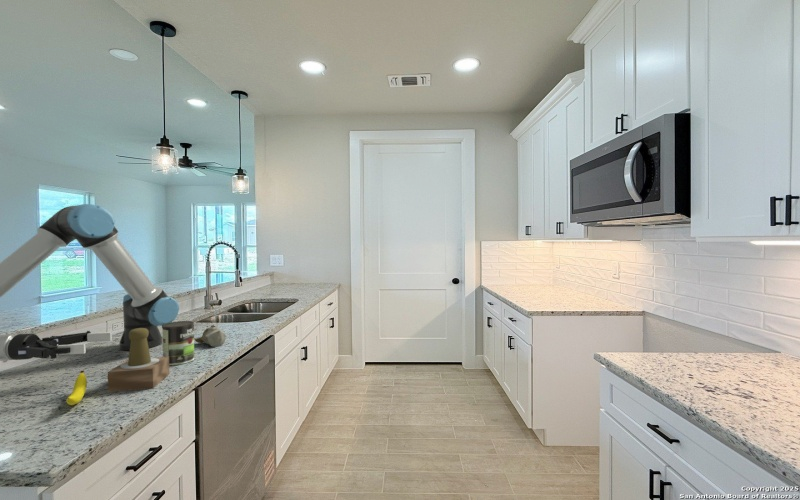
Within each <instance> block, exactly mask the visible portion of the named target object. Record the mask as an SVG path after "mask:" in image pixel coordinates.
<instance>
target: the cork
mask: <svg viewBox="0 0 800 500" xmlns="http://www.w3.org/2000/svg"><path fill="white" fill-rule="evenodd" d="M148 335H149V331H148V329H146V328H136V329H133V330H131V331H130V332H129V339H130V340H131V345H130V350H129V353H128V359H129V360H128V359H127V360H128V366H140V365H144V364H147V363H150V362H151V358H152V357H151V354H150V348H149V347H148V342H147V337H148Z"/></svg>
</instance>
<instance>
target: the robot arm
mask: <svg viewBox="0 0 800 500" xmlns="http://www.w3.org/2000/svg"><path fill="white" fill-rule="evenodd" d="M36 231H37V233H35V235H33V236H32V237H31V238H30V239H28V240H27V241H25V242H24V243H23V244H22V245H20V247H18V248H16V250H15V251H13V252H12V253H11V254H10V255H8V256H7V257H6V258H5V259H3V260H2V261H0V299H1V298H2V297H3V296H4V295H6V294H7V293H8V292H9V291H10V290H11V289H12V288H14V287H15V286H16V285H17V284H19V283H20V282H21V281H22V280H23V279H24V278H25V277H26V276H28V275H29V274H30V273H31V272H32V271H33V270H35V269H36V268H38V267H39V266H40V265H41V264H42V263H43V262H44V261H46V260H47V259H48V258H49V257H50V256H51V255H52V254H54V253H55V252H56V251H57V250H58V249H59V248H64V247H67V246H68V245H69V244H71V243H72V242H73V241H75V240H76V241H77V242H78V243H79V244H80V246H81V247H82V248H83V249H87V250H91V252H93V253H94V254H95V256H96V257H97V258H98V259H99V261H100V262H101V263H102V264H103V266H104V267H105V268H106V269H107V270H108V271H109V273H110V274H111V275H112V276H113V278H114V279H115V280H116V281H117V282H118V283H119V285H120V286H121V287H122V288H123V290H124V291H125V292H126V293H127V294H125V295H124V296H123V299H122V307H123V308H122V310H123V311H122V312H123V332H122V335H121V337H120V340H119V343H118V345H119V346H118V348H119V350H121V351H130V345H131V340H130V339H129V332H130V331H131V330H133V329H136V328H146V329H148V331H149V335H148V337H147V342H148V347H149V349H150V348H153V347H157V346H159V345H161V344H163V335H162V334H161V331H160V329H159V327H162V325H164V324H167V323H171V322H175V320H176V318H177V317H178V316H179V312H180V305H179V302H178V301H177V300H176V299H175V298H173V297H171V296H168V295H167V293H166V292H165V291H164V289H163V288H162V287H160V286H155V285H154V284H153V282H152V281H151V280H150V278H149V277H148V276H147V274H146V273H145V271H143V269H142V268H141V267H140V265H139V264H138V263H137V261H136V260H135V259H134V258H133V256H132V255H131V254H130V252H129V251H128V250H127V249H126V247H125V246H124V245H123V243H122V242H121V241H120V239H119V238H118V235H119V230H118V229H117V228H116V226H115V218H114V216H113V214H112V213H111V212H110V211H109V210H108V209H106V208H105V207H102V206H100V205H97V204H91V203H83V204H77V205H70V206H66V207H63V208H61V209H60V210H58V211H57V212H56V213H54V214H53V215H52V216H51V217H50V218H48V219H47V220H45V222H43V224H41V225H40V226H39V227H38V228H37V230H36ZM112 339H113V337H112V332H111V331H107V332H106V331H105V332H92V331H90V330H86V331H85V332H80V333H79V332H78V333H71V334H63V335H51V336H49V337H48V336H46V337H42V338H40V337H39V336H38V335H37V334H36V333H19V334H18V333H15V334H14V333H13V334H0V361H2V363H7V362H8V361H22V360H30V359H32V358H33V359H34V358H39V359H49V358H50V359H52V360H54V359H57V356H68V355H82V354H86V353H87V352H86V351H87V350H86V343H85V342H87V343H97V342H111V341H112Z"/></svg>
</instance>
